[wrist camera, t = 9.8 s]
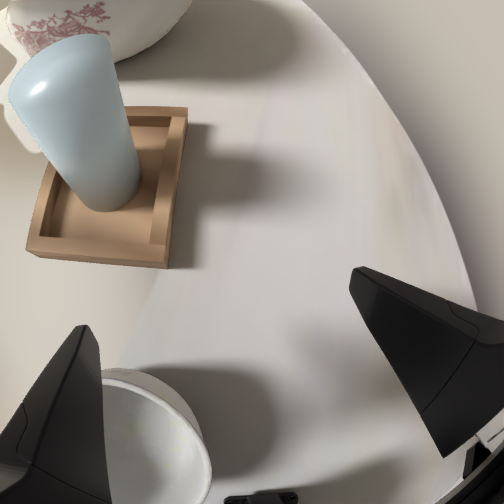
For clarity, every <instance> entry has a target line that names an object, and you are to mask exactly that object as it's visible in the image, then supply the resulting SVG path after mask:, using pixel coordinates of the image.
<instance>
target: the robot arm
mask: <svg viewBox="0 0 504 504" xmlns="http://www.w3.org/2000/svg"><path fill="white" fill-rule="evenodd" d="M349 291H350V294H351V296H352V298H353V300H354V302H355V304H356V306H357V308H358V310H359V312H360V314H361V316H362V318H363V320H364V322H365V324H366V325H367V327H368V329H369V331H370V332H371V334H372V335H373V337H374V338H375V340H376V342H377V343H378V345H379V346H380V348H381V350H382V351H383V353H384V355H385V356H386V358H387V360H388V361H389V363H390V364H391V366H392V368H393V369H394V371H395V373H396V374H397V376H398V378H399V380H400V381H401V383H402V385H403V386H404V388H405V390H406V391H407V393H408V395H409V397H410V398H411V400H412V402H413V404H414V405H415V407H416V409H417V411H418V413H419V414H420V416H421V418H422V420H423V422H424V424H425V426H426V427H427V429H428V431H429V433H430V435H431V437H432V439H433V440H434V442H435V444H436V446H437V448H438V450H439V452H440V454H441V456H442V457H443V458H445V457H447V456H448V455H449V454H451V453H452V452H453V451H455V450H456V449H457V448H459V447H460V446H461V445H463V444H464V443H465V442H466V441H468V440H469V439H470V438H471V437H473V436H474V435H476V437H477V438H478V441H477V442H476V443H475V444H474V445H473V446H472V447H471V448H469V449H468V450H467V453H466V460H465V466H464V472H463V479H464V480H463V481H462V482H461V483H460V484H459V485H458V486H457V487H455V488H454V489H453V490H452V491H450V492H449V493H448V494H447V495H446V496H444V497H443V498H442V499H440V500H439V501H438V502H437V503H435V504H504V321H502V320H499V319H496V318H493V317H491V316H488V315H485V314H482V313H479V312H476V311H474V310H471V309H468V308H465V307H463V306H461V305H458V304H456V303H453V302H451V301H449V300H446V299H444V298H441V297H439V296H437V295H434V294H432V293H429V292H427V291H424V290H422V289H420V288H417V287H415V286H412V285H410V284H407V283H405V282H402V281H400V280H397V279H395V278H393V277H390V276H388V275H385V274H383V273H380V272H377V271H375V270H372V269H370V268H367V267H365V266H361V267H357V268H354V269H353V271H352V274H351V279H350V285H349ZM292 496H294V497H293V498H290V497H292ZM229 501H231V502H232V503H227V502H229ZM297 502H298V495H297V494H296V493H295V492H289V493H282V494H268V495H256V496H248V497H228V498H225V499H224V504H297ZM0 504H112V498H111V492H110V485H109V478H108V470H107V461H106V450H105V437H104V418H103V387H102V376H101V367H100V354H99V345H98V342H97V340H96V338H95V337H94V335H93V333H92V331H91V329H90V327H89V326H88V325H80V326H76V327H75V328H74V329H73V331H72V332H71V333H70V335H69V336H68V337H67V338H66V340H65V341H64V342H63V344H62V345H61V346H60V348H59V349H58V351H57V352H56V353H55V355H54V356H53V357H52V359H51V360H50V361H49V363H48V364H47V366H46V367H45V368H44V370H43V371H42V373H41V374H40V376H39V377H38V379H37V380H36V381H35V383H34V385H33V386H32V387H31V389H30V390H29V392H28V393H27V395H26V396H25V398H24V400H23V403H21V404H20V406H19V407H18V409H17V410H16V412H15V414H14V415H13V417H12V418H11V420H10V421H9V423H8V424H7V426H6V427H5V429H4V430H3V431H2V433H1V434H0Z"/></svg>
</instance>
